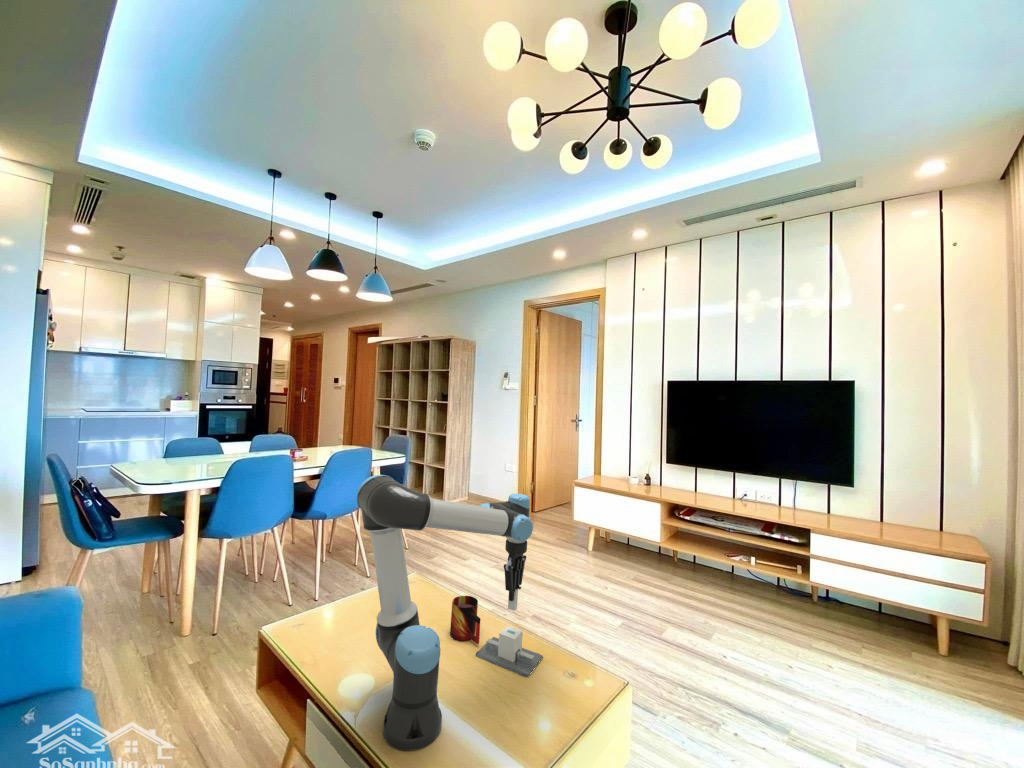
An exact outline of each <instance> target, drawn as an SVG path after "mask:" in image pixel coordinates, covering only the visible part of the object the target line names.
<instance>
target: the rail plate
mask: <svg viewBox="0 0 1024 768" xmlns="http://www.w3.org/2000/svg"><path fill="white" fill-rule="evenodd" d="M498 647H499V637H495V636H492V637H491V638H488V639H486V641H485V644H484V645H483V646H481V648H480V649H479V650H477V651H476V652H475V657H477V658H479V659H482V660H484V661H486V662H489V663H491V664H494V665H496V666H498V667H501V668H504V669H506V670H507V671H511V672H513V673H514V674H517V673H518V675H519V676H522V675H523V676H522V677H524V676H526V677H525V678H527V677H528V676H529V675H530V676H531V674H532V673H533V672H534V671H533V669H534V668H535V667H536V665H537V664H538V663H539V661H540V660H541V659H542V658H543V659H544V655H542V654H540V653H537V652H534V651H533V650H531V649H530V650H529V649H527V648H524V647H522V651H520V650H518V651H517V652H516V657H515V661H514V662H512V661H509V660H507V659H504V658H502V657H499V656H498ZM543 659H542V660H543ZM542 660H541V661H542ZM539 664H540V663H539ZM539 664H538V665H539ZM538 665H537V666H538ZM536 668H537V667H536ZM536 668H535V669H536ZM535 669H534V670H535ZM532 671H533V672H532ZM531 672H532V673H531ZM530 673H531V674H530ZM530 676H529V677H530ZM529 677H528V678H529Z"/></svg>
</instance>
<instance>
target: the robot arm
mask: <svg viewBox="0 0 1024 768" xmlns="http://www.w3.org/2000/svg"><path fill="white" fill-rule="evenodd" d="M530 500H531V499H530V498H529V496H528V495H526V494H523V493H512V494H509V495H508V500H506V501H500V502H487V503H481V504H479V505H472V504H467V503H461V502H454V501H448V500H442V499H436V498H432V497H431V496H430V495H429V494H428V493H423V492H418V491H415V490H413V489H411V488H409V487H407V486H405V485H403V484H401V483H400V482H398V481H396V480H395V479H394V478H393V477H391V476H390V475H386V474H375V475H372V476H369V477H368V478H366V479H365V480H363V481H362V483H361V484H360V485H359V487H358V488H357V491H356V504H357V506H358V507H359V509H360V510H361V515H362V516H361V517H362V523H363V530H365V531H366V532H368V533H370V540H371V546H372V554H373V561H374V568H375V576H376V583H377V589H378V598H379V604H380V610H379V612H378V613H377V615H376V622H377V623H376V627H375V640H376V643H377V646H378V648H379V649H380V651H381V652H382V654H383V655H384V657H385V659H386V661H387V664H388V665H389V667H390V670H392V673H393V674H392V675H393V680H392V681H393V683H392V693H391V699H390V702H389V705H388V707H387V709H386V713H385V715H384V718H383V722H382V736H383V739H384V741H385V742H386V743H387V744H388V745H389V746H390V747H392V748H394V749H396V750H400V751H416V750H419V749H422V748H424V747H427V746H428V745H430V744H431V743H432V742H433V741H435V740H436V739H437V738H438V736H439V734H440V732H441V729H442V721H443V719H442V718H443V716H442V711H441V708H440V705H439V697H438V684H439V683H438V682H439V672H440V671H439V669H440V658H441V651H442V650H441V640H440V636H439V635H438V633H437V632H436V631H435V630H434V629H433V628H431V627H427V626H426V625H422V624H421V625H420V619H419V611H418V606H417V604H416V603H415V602H414V601H412V599H411V591H410V584H409V577H408V576H409V575H408V569H407V567H408V566H407V562H406V561H407V560H406V554H405V546H404V539H403V537H404V536H403V532H402V531H403V530H411V531H423V530H424V529H425V528H430V529H437V530H439V529H440V530H448V531H456V532H465V533H473V534H481V535H489V536H496V537H497V536H500V537H504V538H506V539H505V551H506V552H507V553H508V556H507V563H505V564H503V570H504V585H505V588H504V589H505V591H507V592H508V600H507V609H508V610H510V611H516V610H517V609H518V600H519V599H518V598H519V590H521V589H522V586H521V585H522V584H523V578H524V577H523V576H524V570H525V565H526V560H527V555H524V554H526V553H527V550H528V541H527V540H528V539H530V537H532V534H533V530H534V525H533V524H534V523H533V522H532V520H531V518H530V509H531V507H530V506H531V504H530V502H531V501H530Z"/></svg>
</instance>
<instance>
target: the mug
mask: <svg viewBox="0 0 1024 768" xmlns="http://www.w3.org/2000/svg"><path fill="white" fill-rule="evenodd" d="M478 605H479V601H478V599H477V598H476V597H474V596H471V595H459V596H456V597H454V598H453V599H452V602H451V612H450V613H451V616H450V629H449V637H450V638H451V639H452V638H453V639H452V640H453V641H456V642H461V643H462V642H463V643H464V642H469V641H472V642H474V643H475V644H476V645H479V644H480V634H481V633H480V629H481V620H482V619H481V617H480V616H478V607H479V606H478ZM475 635H476V636H475Z"/></svg>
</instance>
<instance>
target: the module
mask: <svg viewBox="0 0 1024 768" xmlns="http://www.w3.org/2000/svg"><path fill="white" fill-rule="evenodd" d="M523 632H524V631H523V630H521V629H519V628H515V627H513V626H510V625H507V626H506V627H504V629H502V630H501V631H500V632H499V635H498V639H499V647H498V656H499V657H502V658H504V659H507V660H509V661H512V662H514V661H515V657H516V652H517V651H518V650H520V651H522V648H523V635H524V633H523Z"/></svg>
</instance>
